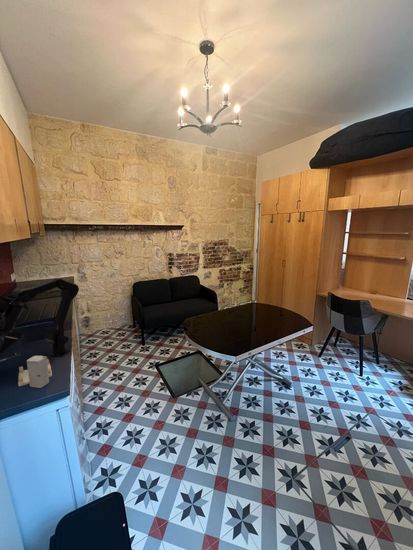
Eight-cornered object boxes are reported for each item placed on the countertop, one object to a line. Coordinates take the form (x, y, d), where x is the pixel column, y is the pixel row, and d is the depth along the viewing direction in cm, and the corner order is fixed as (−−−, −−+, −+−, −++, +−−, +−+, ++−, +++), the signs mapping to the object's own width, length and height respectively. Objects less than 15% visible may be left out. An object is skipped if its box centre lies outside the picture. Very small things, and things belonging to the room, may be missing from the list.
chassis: (19, 373, 109) (18, 367, 108) (50, 364, 116) (49, 358, 115) (18, 386, 99) (17, 379, 99) (52, 375, 106) (51, 368, 106)
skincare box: (29, 387, 99) (24, 360, 97) (38, 380, 103) (34, 355, 101) (42, 388, 98) (37, 361, 96) (50, 381, 102) (46, 355, 100)
